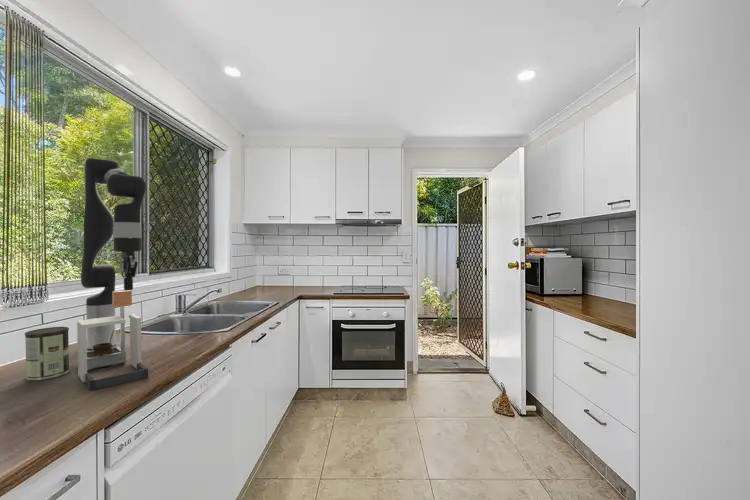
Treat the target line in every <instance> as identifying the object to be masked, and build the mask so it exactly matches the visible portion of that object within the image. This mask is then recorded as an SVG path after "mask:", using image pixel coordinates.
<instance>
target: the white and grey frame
mask: <svg viewBox="0 0 750 500" xmlns="http://www.w3.org/2000/svg"><path fill="white" fill-rule="evenodd" d="M128 318H129V346H130V347H129V350H130V353H129V356H130V357H129V358H130V365H131V366H132V367H133V368H135V369H136V370H137V363H141V364H142V363H143V362H142V357H143V356H142V353H143V352H142V317H140V316H138V315H136V314H134V313H131V314H130V313H129V314H128ZM126 322H127V321H126V319H125V318H124V319H123V318H121V317H120V315H115V316H112V317H104V318H95V319H87V318H86V319H81V320H80V319H79V320H77V321H76V327H77V328H76V329H77V330H76V331H77V335H76V337H77V338H76V339H77V375H78V377H79V378H80V380H81V382H82V383H86V382H85V374H88V369H87V351H88V349H87V328H90V327H98V326H106V325H113V324H115V325H120V324H121V323H125V324H126ZM142 365H143V364H142Z"/></svg>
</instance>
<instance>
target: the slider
mask: <svg viewBox="0 0 750 500" xmlns="http://www.w3.org/2000/svg"><path fill="white" fill-rule="evenodd" d="M132 295H133V293H132V290H115V291H112V306H113V307H115V308H118V307H119V314H120V315H119V316H120V317H121V318H123V319H125V307H127V306H132V305H133V297H132ZM119 325H120V326H119V327H120V329H119V330H120V331H119V333H120V346H119V345H117V346H112V347H111V348H112V349H113V353H114V354H108V355H103V356H97V357H92V352H93V351H94V350H93V349H92V350H87V370H91V369H97V368H98V367H100V368H104V367H103V366H106V367H109V366H112V365H117V364H121V363H127V351H126V339H125V337H126V336H125V335H126V334H125V330H126V329H125V325H126V323H121V324H119ZM108 365H109V366H108Z"/></svg>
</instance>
